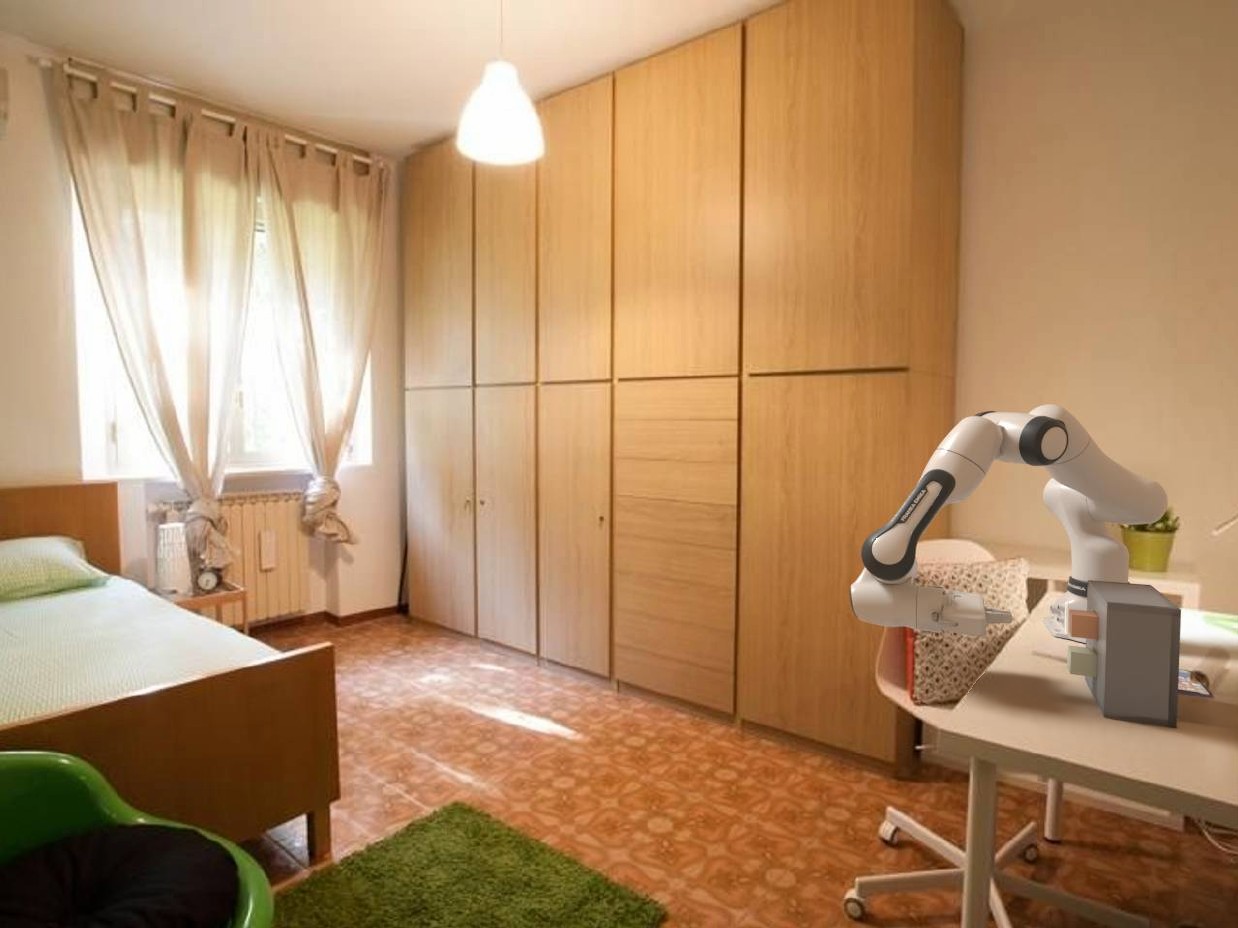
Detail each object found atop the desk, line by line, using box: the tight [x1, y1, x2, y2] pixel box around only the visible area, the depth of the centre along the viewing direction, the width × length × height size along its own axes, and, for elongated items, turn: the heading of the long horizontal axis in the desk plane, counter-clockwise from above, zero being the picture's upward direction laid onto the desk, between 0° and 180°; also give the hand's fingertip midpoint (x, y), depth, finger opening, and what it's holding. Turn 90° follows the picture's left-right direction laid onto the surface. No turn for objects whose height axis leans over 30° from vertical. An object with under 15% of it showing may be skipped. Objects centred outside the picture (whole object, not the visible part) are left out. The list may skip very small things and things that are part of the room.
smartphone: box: [1178, 668, 1213, 698], centre depth 133 cm, size 1×7×15 cm
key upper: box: [1068, 609, 1099, 640], centre depth 126 cm, size 5×4×4 cm
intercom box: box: [1084, 580, 1182, 729], centre depth 123 cm, size 10×20×20 cm, turn 153°
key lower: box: [1066, 644, 1097, 677], centre depth 126 cm, size 5×4×4 cm
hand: (1011, 617), depth 132 cm, fingers closed
